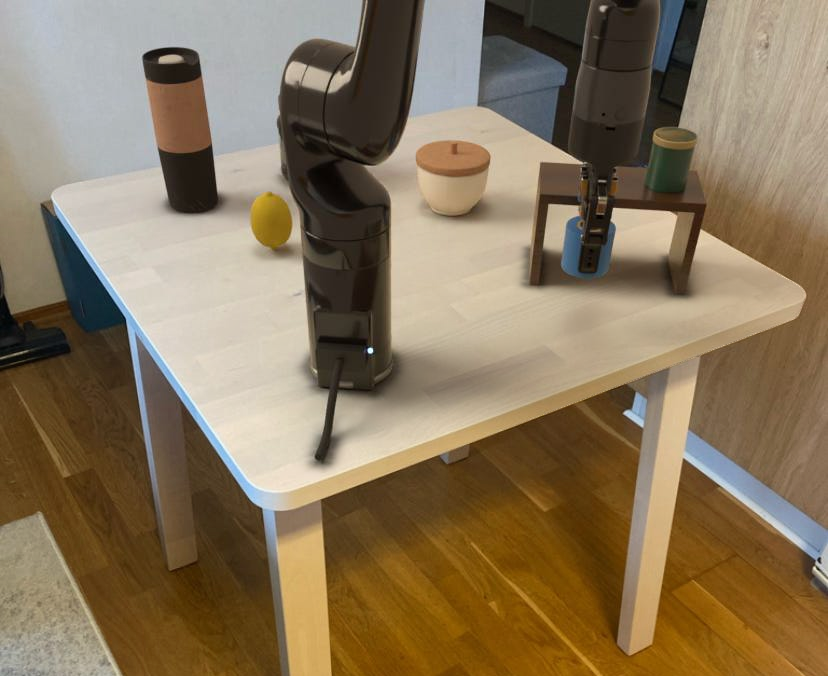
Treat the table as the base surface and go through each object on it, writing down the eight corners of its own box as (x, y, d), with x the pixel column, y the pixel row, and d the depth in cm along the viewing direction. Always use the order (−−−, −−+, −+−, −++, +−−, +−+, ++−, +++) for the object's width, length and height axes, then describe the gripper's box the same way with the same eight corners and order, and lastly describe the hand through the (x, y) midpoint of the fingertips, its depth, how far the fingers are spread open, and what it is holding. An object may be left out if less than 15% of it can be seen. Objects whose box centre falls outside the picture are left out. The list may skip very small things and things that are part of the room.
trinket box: (490, 195, 136) (495, 131, 129) (482, 226, 129) (486, 160, 122) (421, 189, 137) (422, 125, 131) (408, 219, 130) (409, 153, 123)
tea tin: (688, 194, 109) (700, 144, 104) (645, 192, 109) (655, 141, 105) (684, 177, 112) (695, 127, 108) (642, 175, 113) (652, 125, 108)
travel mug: (163, 196, 134) (136, 49, 120) (213, 189, 136) (193, 44, 122) (173, 217, 129) (146, 66, 115) (225, 209, 131) (205, 60, 117)
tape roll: (610, 279, 103) (617, 237, 99) (561, 276, 103) (567, 235, 100) (607, 256, 107) (614, 215, 103) (560, 253, 107) (565, 213, 104)
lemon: (287, 261, 120) (282, 202, 114) (248, 256, 121) (241, 198, 115) (299, 242, 124) (295, 185, 118) (261, 238, 125) (255, 181, 119)
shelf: (684, 294, 115) (707, 203, 107) (529, 284, 116) (539, 193, 108) (676, 258, 122) (697, 170, 114) (530, 249, 124) (540, 161, 115)
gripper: (570, 82, 98) (552, 229, 110) (575, 132, 88) (554, 288, 100) (639, 85, 97) (613, 232, 109) (652, 135, 87) (622, 292, 99)
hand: (585, 258), depth 104 cm, fingers closed on tape roll, 5 cm apart
